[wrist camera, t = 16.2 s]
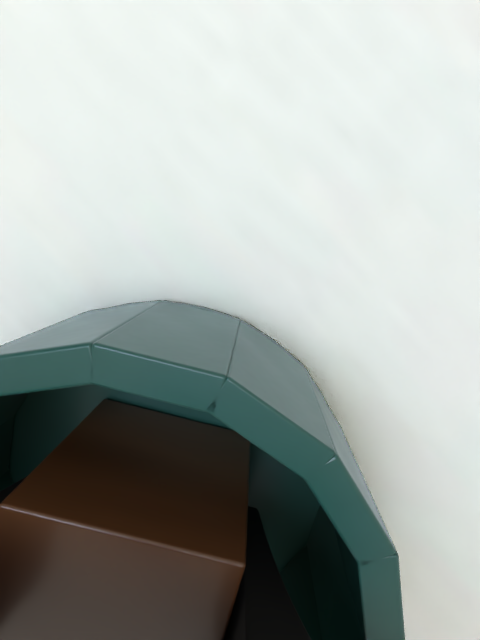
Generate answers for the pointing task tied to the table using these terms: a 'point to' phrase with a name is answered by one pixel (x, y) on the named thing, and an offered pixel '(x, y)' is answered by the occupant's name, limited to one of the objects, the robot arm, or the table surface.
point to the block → (127, 532)
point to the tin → (230, 413)
